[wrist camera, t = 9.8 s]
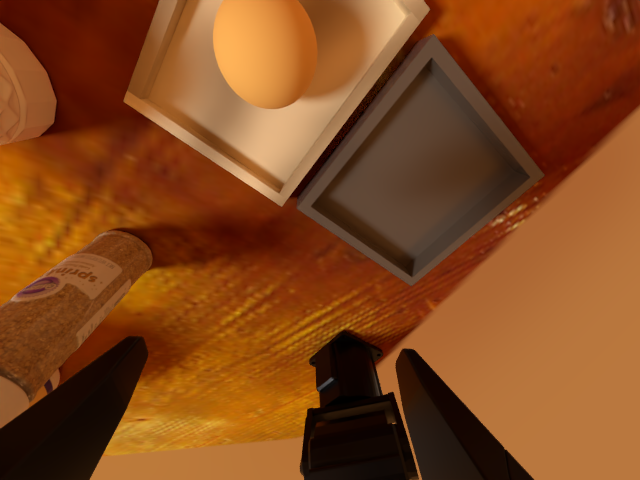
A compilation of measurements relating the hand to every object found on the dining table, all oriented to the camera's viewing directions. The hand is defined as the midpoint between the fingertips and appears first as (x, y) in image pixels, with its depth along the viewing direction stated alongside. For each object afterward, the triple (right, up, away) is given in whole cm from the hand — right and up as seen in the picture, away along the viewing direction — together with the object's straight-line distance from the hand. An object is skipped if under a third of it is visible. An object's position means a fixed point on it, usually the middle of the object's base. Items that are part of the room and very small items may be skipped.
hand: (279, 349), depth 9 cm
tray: (-1, +15, +6) cm, 16 cm away
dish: (+8, +8, +11) cm, 16 cm away
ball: (-1, +14, +6) cm, 16 cm away
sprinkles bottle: (-15, +3, +13) cm, 20 cm away
